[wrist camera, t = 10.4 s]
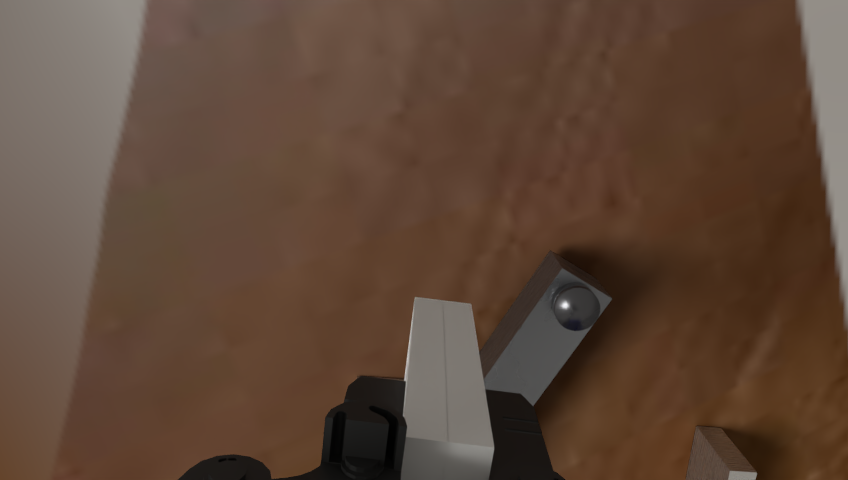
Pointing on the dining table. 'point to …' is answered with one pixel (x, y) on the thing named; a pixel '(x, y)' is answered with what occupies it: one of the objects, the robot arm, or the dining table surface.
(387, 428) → the robot arm
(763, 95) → the dining table surface
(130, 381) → the dining table surface
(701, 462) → the keeper
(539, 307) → the latch bar
